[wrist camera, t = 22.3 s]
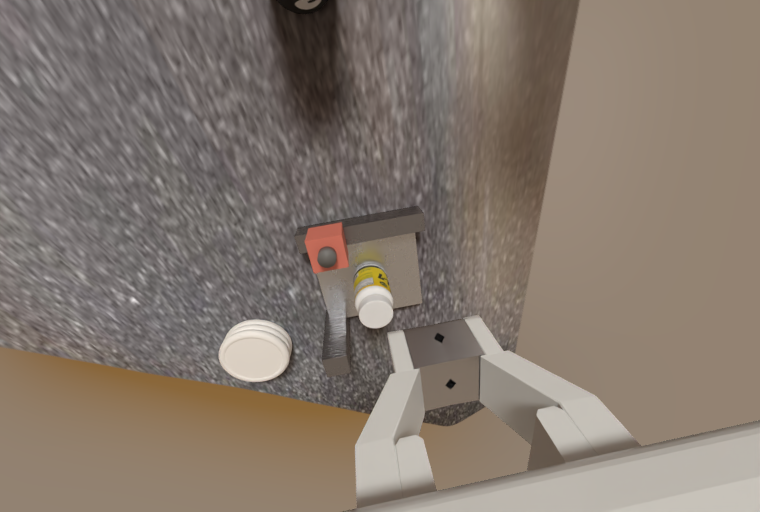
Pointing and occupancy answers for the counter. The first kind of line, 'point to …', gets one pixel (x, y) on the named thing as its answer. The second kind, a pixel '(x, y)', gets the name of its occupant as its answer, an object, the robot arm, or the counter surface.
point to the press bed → (365, 246)
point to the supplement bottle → (373, 296)
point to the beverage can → (303, 5)
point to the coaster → (255, 350)
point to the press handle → (327, 247)
